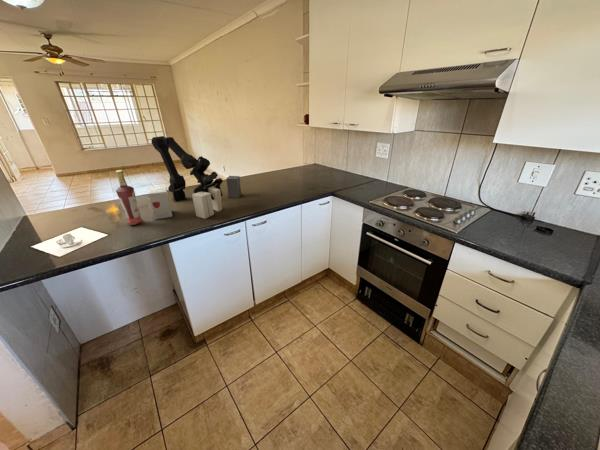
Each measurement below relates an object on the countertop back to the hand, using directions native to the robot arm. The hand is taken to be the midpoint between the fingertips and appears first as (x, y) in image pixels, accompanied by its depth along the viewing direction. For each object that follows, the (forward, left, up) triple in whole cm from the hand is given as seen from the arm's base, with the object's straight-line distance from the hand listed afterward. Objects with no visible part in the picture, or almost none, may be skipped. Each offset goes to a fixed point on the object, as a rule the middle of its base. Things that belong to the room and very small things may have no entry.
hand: (218, 197), depth 144 cm
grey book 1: (+17, +14, -8) cm, 24 cm away
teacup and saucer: (-68, +9, -8) cm, 69 cm away
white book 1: (-12, -3, -8) cm, 14 cm away
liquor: (-42, +10, -8) cm, 44 cm away
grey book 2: (+20, +17, -8) cm, 27 cm away
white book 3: (-2, +1, -7) cm, 8 cm away
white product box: (-28, +12, -8) cm, 31 cm away
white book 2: (-8, -2, -8) cm, 11 cm away
